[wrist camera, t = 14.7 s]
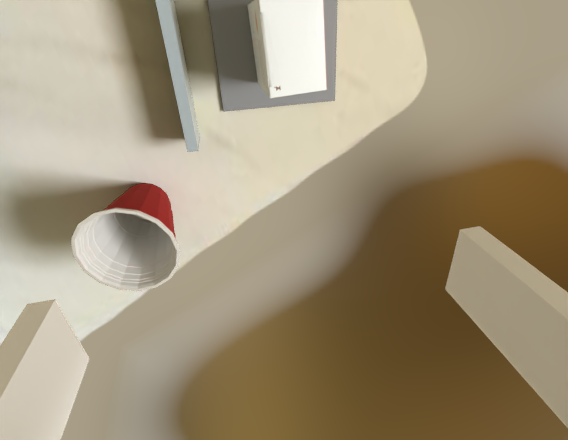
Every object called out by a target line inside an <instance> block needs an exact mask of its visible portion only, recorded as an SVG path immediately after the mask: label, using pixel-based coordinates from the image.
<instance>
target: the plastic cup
mask: <svg viewBox="0 0 568 440" xmlns="http://www.w3.org/2000/svg"><path fill="white" fill-rule="evenodd" d="M71 244H72V252H73V257H74V258H75V260H76V261H77V263H78V264H79V265H80V267H81V268H82V270H83V271H84V272H85V273H87V274H88V275H89V276H91V277H92V278H94V279H95V280H96V281H98V282H99V283H102V284H105V285H107V286H110V287H113V288H116V289H119V290H132V291H141V290H146V289H151V288H155V287H158V286H159V285H161V284H163V283H164V282H166V281H167V280H169V279H171V277H172V276H173V274H174V273H175V271H176V270H177V268H178V267H179V261H180V248H179V245H178V243H177V241H176V238H175V233H174V224H173V215H172V211H171V203H170V201H169V198H168V196H167V194H166V193H165V192H164V191H163V190H162V189H161V188H159V187H157V186H155V185H153V184H146V183H142V184H138V185H135V186H132V187H131V188H130V189H128V190H127V191H126V192H125V193H123V194H122V195H121V196H120V197H118V198H117V199H116V200H115V201H114V202H112V203H111V204H110V205H109V206H108V207H107V208H106V209H104V210H103V211H98V212H95V213H93V214H92V215H90V216H89V217H87V218H86V219H85V220H83V221H82V222H80V223H79V224H78V225H77V227H76V229H75V231H74V234H73V236H72V238H71Z"/></svg>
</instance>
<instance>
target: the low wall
mask: <svg viewBox="0 0 568 440" xmlns="http://www.w3.org/2000/svg"><path fill="white" fill-rule="evenodd" d="M155 1H156V6H157V11H158V15H159V20H160V25H161V29H162V34H163V39H164V44H165V48H166V53H167V58H168V62H169V67H170V72H171V77H172V81H173V86H174V91H175V95H176V100H177V105H178V110H179V114H180V119H181V124H182V128H183V133H184V138H185V142H186V147H187V152H193V151H198V150H199V141H200V136H199V131H198V125H197V120H196V115H195V109H194V104H193V99H192V93H191V88H190V83H189V77H188V72H187V67H186V61H185V56H184V51H183V46H182V40H181V35H180V30H179V24H178V19H177V14H176V8H175V3H174V0H155Z"/></svg>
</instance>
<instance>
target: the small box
mask: <svg viewBox="0 0 568 440" xmlns="http://www.w3.org/2000/svg"><path fill="white" fill-rule="evenodd" d="M247 7H248V13H249V20H250V27H251V35H252V42H253V49H254V57H255V64H256V71H257V79H258V83H259V85H260V86H261V87H262V89H263V90H264V91H265V93H266V94H267V95H268V97H269V98H277V97H283V96H290V95H296V94H303V93H310V92H317V91H324V90H327V79H326V53H325V28H324V0H254V1H252V2H251V3H249V4H248V5H247Z"/></svg>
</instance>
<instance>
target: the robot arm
mask: <svg viewBox="0 0 568 440" xmlns="http://www.w3.org/2000/svg"><path fill="white" fill-rule="evenodd" d="M445 289H446V290H447V292H448V293H449V294H450V295H451V296H452V297H453V298H454V300H455V301H456V302H457V303H458V304H459V305H460V306H461V307H462V308H463V310H464V311H465V312H466V313H467V314H468V315H469V317H470V318H471V319H472V320H473V321H474V322H475V323H476V324H477V326H478V327H479V328H480V329H481V330H482V331H483V332H484V333H485V335H486V336H487V337H488V338H489V339H490V340H491V341H492V343H493V344H494V345H495V346H496V347H497V348H498V349H499V351H500V352H501V353H502V354H503V355H504V356H505V357H506V359H507V360H508V361H509V362H510V363H511V364H512V365H513V366H514V368H515V369H516V370H517V371H518V372H519V373H520V374H521V375H522V377H523V378H524V379H525V380H526V381H527V382H528V383H529V384H530V386H531V387H532V388H533V389H534V390H535V391H536V393H537V394H538V395H539V396H540V397H541V398H542V399H543V401H544V402H545V403H546V404H547V405H548V406H549V407H550V408H551V410H552V411H553V412H554V413H555V414H556V415H557V416H558V418H559V419H560V420H561V421H562V422H563V423H564V424H565V425H566V427H567V428H568V293H567V292H566V291H565V290H563V289H562V288H561V287H560V286H558V285H557V284H556V283H554V282H553V281H552V280H550V279H549V278H548V277H546V276H545V275H544V274H542V273H541V272H540V271H538V270H537V269H535V267H533V266H532V265H530V264H529V263H528V262H526V261H525V260H524V259H523V258H521V257H520V256H519V255H517V254H516V253H515V252H513V251H512V250H511V249H509V248H508V247H507V246H505V245H504V244H503V243H501V242H500V241H499V240H497V239H496V238H495V237H494V236H492V235H491V234H490V233H488V232H487V231H486V230H484V229H483V228H482V227H473V228H468V229H462V230H460V233H459V236H458V240H457V244H456V248H455V252H454V256H453V261H452V264H451V268H450V273H449V277H448V280H447V284H446V288H445ZM88 361H89V357H88V355H87V354H86V352H85V350H84V349H83V347H82V345H81V343H80V342H79V340H78V338H77V336H76V335H75V333H74V331H73V330H72V328H71V326H70V324H69V323H68V321H67V319H66V317H65V316H64V314H63V312H62V311H61V309H60V307H59V305H58V304H57V302H56V300H49V301H43V302H37V303H32V304H27V305H26V307H25V308H24V310H23V312H22V313H21V315H20V316H19V318H18V319H17V321H16V322H15V324H14V326H13V327H12V329H11V330H10V332H9V333H8V335H7V336H6V338H5V340H4V341H3V343H2V344H1V346H0V440H61V437H62V434H63V431H64V429H65V426H66V423H67V420H68V417H69V415H70V412H71V409H72V406H73V403H74V400H75V398H76V395H77V392H78V389H79V387H80V383H81V381H82V378H83V375H84V372H85V370H86V367H87V364H88Z"/></svg>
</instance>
